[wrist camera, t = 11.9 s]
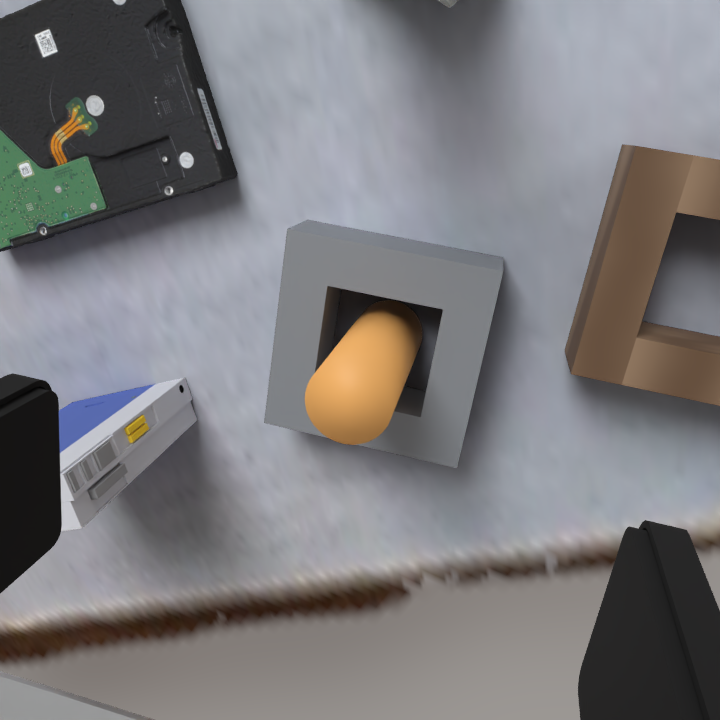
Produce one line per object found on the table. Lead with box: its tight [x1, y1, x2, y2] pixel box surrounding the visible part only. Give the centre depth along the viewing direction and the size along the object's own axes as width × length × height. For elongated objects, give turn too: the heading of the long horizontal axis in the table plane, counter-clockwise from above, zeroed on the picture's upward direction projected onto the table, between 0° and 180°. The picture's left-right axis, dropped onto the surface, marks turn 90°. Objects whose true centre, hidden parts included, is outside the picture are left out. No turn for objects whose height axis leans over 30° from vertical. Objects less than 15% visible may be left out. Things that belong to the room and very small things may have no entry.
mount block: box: [565, 145, 720, 406], centre depth 30 cm, size 10×10×4 cm
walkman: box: [59, 378, 197, 532], centre depth 35 cm, size 8×3×12 cm, turn 106°
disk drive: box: [0, 0, 237, 252], centre depth 34 cm, size 10×3×15 cm
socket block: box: [264, 220, 503, 468], centre depth 34 cm, size 10×10×4 cm
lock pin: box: [305, 300, 422, 445], centre depth 31 cm, size 4×4×10 cm
